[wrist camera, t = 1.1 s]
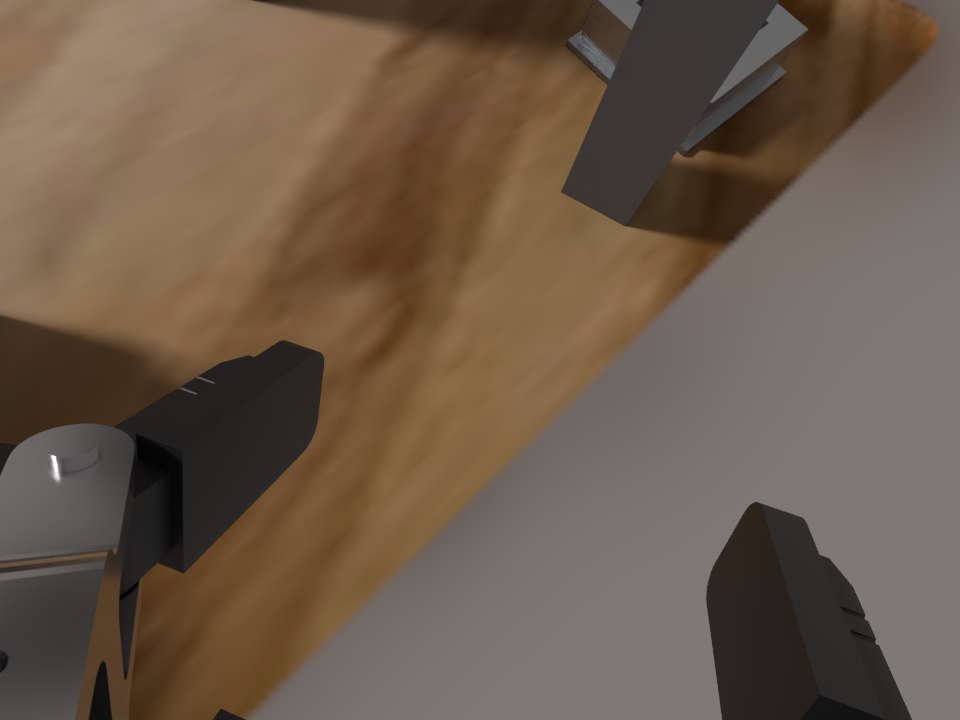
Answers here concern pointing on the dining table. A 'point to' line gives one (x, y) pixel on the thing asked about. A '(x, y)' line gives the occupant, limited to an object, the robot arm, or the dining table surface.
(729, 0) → the plug
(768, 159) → the dining table surface
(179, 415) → the robot arm
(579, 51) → the socket
